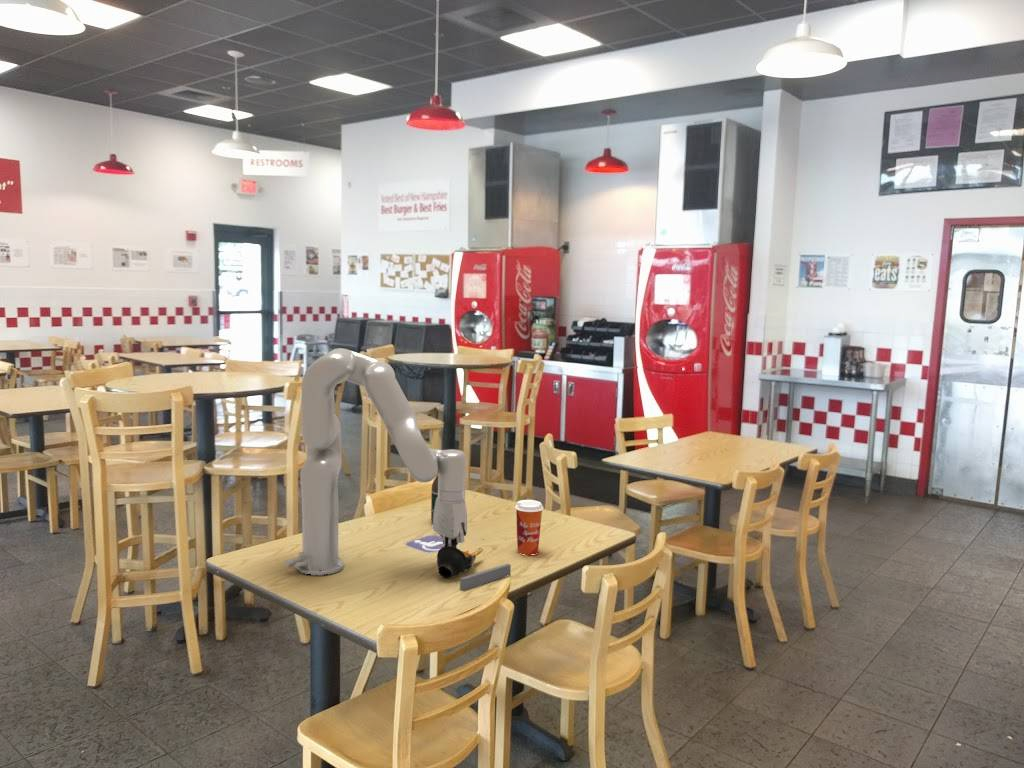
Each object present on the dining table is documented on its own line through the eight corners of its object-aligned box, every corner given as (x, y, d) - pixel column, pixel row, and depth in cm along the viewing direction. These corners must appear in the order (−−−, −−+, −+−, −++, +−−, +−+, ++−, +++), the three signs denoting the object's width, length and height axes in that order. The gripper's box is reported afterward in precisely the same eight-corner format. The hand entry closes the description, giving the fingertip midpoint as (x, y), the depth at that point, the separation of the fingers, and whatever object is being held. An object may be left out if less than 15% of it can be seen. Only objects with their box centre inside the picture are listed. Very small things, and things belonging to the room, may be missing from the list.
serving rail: (463, 590, 196) (463, 579, 195) (460, 589, 197) (460, 578, 196) (510, 575, 207) (510, 564, 207) (507, 573, 208) (507, 563, 207)
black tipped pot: (423, 562, 202) (448, 523, 217) (442, 595, 205) (466, 554, 220) (451, 556, 198) (475, 516, 213) (470, 589, 201) (493, 547, 216)
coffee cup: (518, 558, 220) (519, 507, 218) (510, 548, 228) (512, 499, 226) (545, 556, 222) (547, 506, 220) (537, 546, 230) (539, 498, 228)
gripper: (424, 491, 213) (423, 554, 215) (458, 503, 202) (456, 569, 205) (445, 486, 218) (444, 548, 220) (479, 498, 207) (477, 563, 210)
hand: (450, 558), depth 212 cm, fingers closed
